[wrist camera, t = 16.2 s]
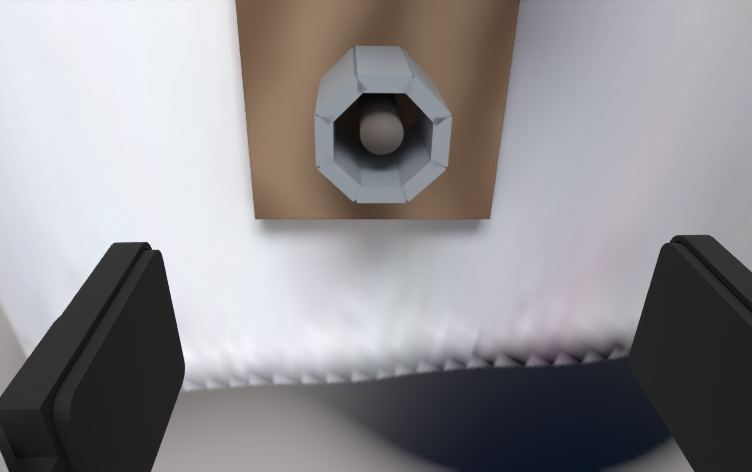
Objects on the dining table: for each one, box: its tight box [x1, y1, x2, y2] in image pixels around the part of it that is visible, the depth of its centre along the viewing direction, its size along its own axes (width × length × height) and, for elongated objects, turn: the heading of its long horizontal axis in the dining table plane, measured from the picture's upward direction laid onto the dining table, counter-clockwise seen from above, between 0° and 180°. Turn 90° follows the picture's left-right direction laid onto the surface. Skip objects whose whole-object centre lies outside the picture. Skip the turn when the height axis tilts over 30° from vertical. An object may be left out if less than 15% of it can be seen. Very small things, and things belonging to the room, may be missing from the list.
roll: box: [314, 46, 452, 203], centre depth 28 cm, size 6×6×6 cm
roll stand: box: [236, 0, 520, 219], centre depth 29 cm, size 14×14×6 cm
